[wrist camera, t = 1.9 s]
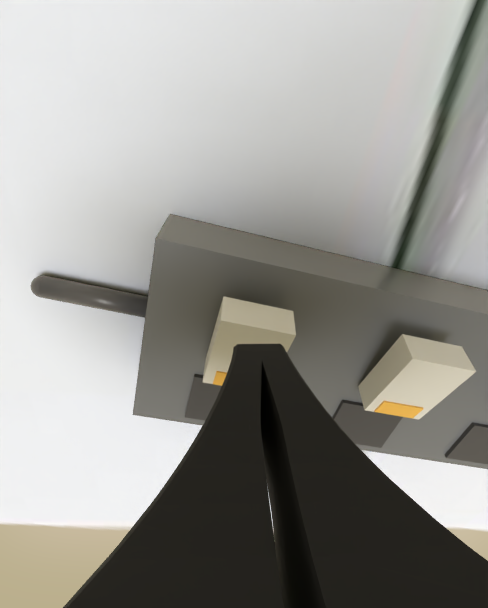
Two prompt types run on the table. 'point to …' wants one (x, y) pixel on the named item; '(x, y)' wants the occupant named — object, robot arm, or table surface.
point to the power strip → (301, 332)
